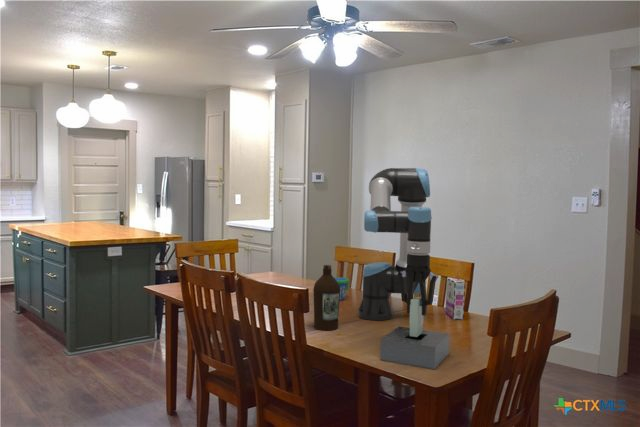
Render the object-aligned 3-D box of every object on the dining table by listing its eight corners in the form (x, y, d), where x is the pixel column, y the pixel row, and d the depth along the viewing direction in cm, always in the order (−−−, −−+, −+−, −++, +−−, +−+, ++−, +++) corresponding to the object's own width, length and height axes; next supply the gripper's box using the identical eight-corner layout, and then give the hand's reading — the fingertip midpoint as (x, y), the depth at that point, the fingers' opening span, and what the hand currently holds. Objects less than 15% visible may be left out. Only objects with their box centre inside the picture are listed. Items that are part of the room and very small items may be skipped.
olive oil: (308, 325, 218) (309, 263, 216) (332, 323, 222) (333, 262, 221) (319, 332, 208) (320, 267, 207) (344, 329, 213) (345, 266, 211)
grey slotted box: (380, 359, 177) (380, 338, 177) (398, 345, 193) (399, 326, 193) (434, 369, 169) (435, 347, 168) (448, 353, 185) (449, 333, 184)
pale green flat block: (409, 336, 178) (410, 299, 178) (415, 331, 183) (416, 296, 183) (416, 337, 177) (418, 300, 176) (422, 332, 182) (423, 297, 182)
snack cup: (340, 295, 279) (341, 275, 278) (355, 298, 271) (356, 278, 271) (318, 299, 268) (319, 278, 267) (334, 303, 260) (334, 282, 260)
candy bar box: (464, 320, 232) (465, 282, 231) (453, 320, 232) (454, 282, 231) (455, 313, 243) (457, 277, 242) (444, 313, 243) (446, 277, 242)
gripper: (392, 253, 179) (390, 323, 180) (438, 256, 172) (436, 329, 173) (399, 250, 186) (397, 318, 187) (444, 254, 179) (442, 324, 180)
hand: (416, 323), depth 180 cm, fingers closed on pale green flat block, 2 cm apart
